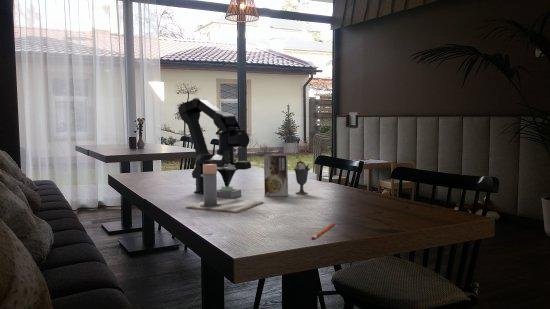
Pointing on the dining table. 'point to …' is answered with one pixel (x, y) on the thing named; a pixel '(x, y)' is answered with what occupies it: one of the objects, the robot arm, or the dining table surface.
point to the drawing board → (227, 205)
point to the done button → (227, 188)
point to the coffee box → (276, 175)
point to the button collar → (228, 194)
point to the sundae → (301, 175)
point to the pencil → (323, 231)
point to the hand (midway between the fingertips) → (227, 186)
